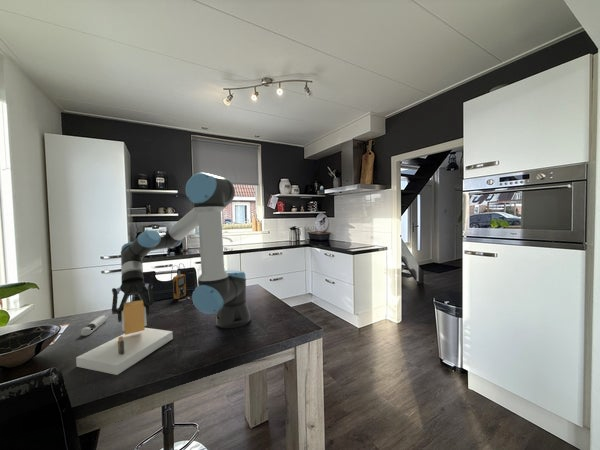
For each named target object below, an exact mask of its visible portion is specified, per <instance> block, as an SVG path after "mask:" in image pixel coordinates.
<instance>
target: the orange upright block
mask: <svg viewBox="0 0 600 450" xmlns="http://www.w3.org/2000/svg"><path fill="white" fill-rule="evenodd" d="M123 311H124V324H125V331H124V334H125V335H126V334H131V333H135V332H139V331H143V330H145V328H146V327H145V326H144V305H143V300H141V299H140V300H139V299H138V300H134V301H128V302H126V303H124V310H123Z"/></svg>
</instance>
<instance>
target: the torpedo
mask: <svg viewBox="0 0 600 450" xmlns="http://www.w3.org/2000/svg"><path fill="white" fill-rule="evenodd" d="M107 319H109V315H108V314H107V313H104V314H101V315H99V316H98V317H96V318H94V320H92V321H91V322H89V323H88V324H87V325H86V327H82V329H81V330H80V334H81V336H82V337H86V336H87V337H88V336H89V335H91V334H92V333H93V332H94V331H95V330H97V329H98V328H99V327H100V326H101V325H103V324H104V323H105V322H106V321H107ZM91 329H93V330H91Z"/></svg>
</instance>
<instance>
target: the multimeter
mask: <svg viewBox="0 0 600 450" xmlns="http://www.w3.org/2000/svg"><path fill="white" fill-rule="evenodd" d="M180 265H181V263H179V264H178V265H176V264H175V265H174V266H172V269H171V272H170V273H171V275H170V280H171V281H170V282H171V283H170V284H171V286H172V290H173V291H171V296H172V298H173V299H172V302H175V303H177V302H182V301H184V300H186V298H187V299H189V300H190V297H189V296H192V293H190V292H188V291H187V279H186V273H185V268H186V267H185V265H184V264H182V266H183V269H184V270H183V273H184V274H183V273H182V274H181V272H180V271H181V267H180ZM174 267H177V269H178V271H177V275H176V276H173V277H172V275H173V269H174ZM187 294H189V295H187ZM185 296H186V298H185V299H184V298H183V297H185ZM180 298H183V299H180Z"/></svg>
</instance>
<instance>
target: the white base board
mask: <svg viewBox="0 0 600 450" xmlns="http://www.w3.org/2000/svg"><path fill="white" fill-rule="evenodd" d="M144 328H145V330H143V331H139V332H135V333H131V334H126V335H125V333H122V334H120V335H119V336H116V337H115V338H113V339H110V340H109V341H107V342H105V343H103V344H101V345H99V346H96V347H95V348H92V349H90V350H89V351H86V352H85V353H82V354H80V355H78V356H76V358H75V360H76V368H77V367H78V368H83V369H86V370H87V369H88V370H91V371H96V372H101V373H106V374H110V375H115V376H118V375H119V374H121V373H122V372H124V371H125V370H127V369H129V368H130V367H132V366H133V365H135V364H136V363H138V362H139V361H142V360H143V359H144V358H145V357H147V356H149V355H150V354H152V353H154V351H156V350H157V349H159V348H161V347H163V346H164V345H166V344H168V342H170V341H172V340H173V338H174V336H173V333H174V332H173V331H172V330H165V329H158V328H152V327H151V328H149V327H144Z"/></svg>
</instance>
